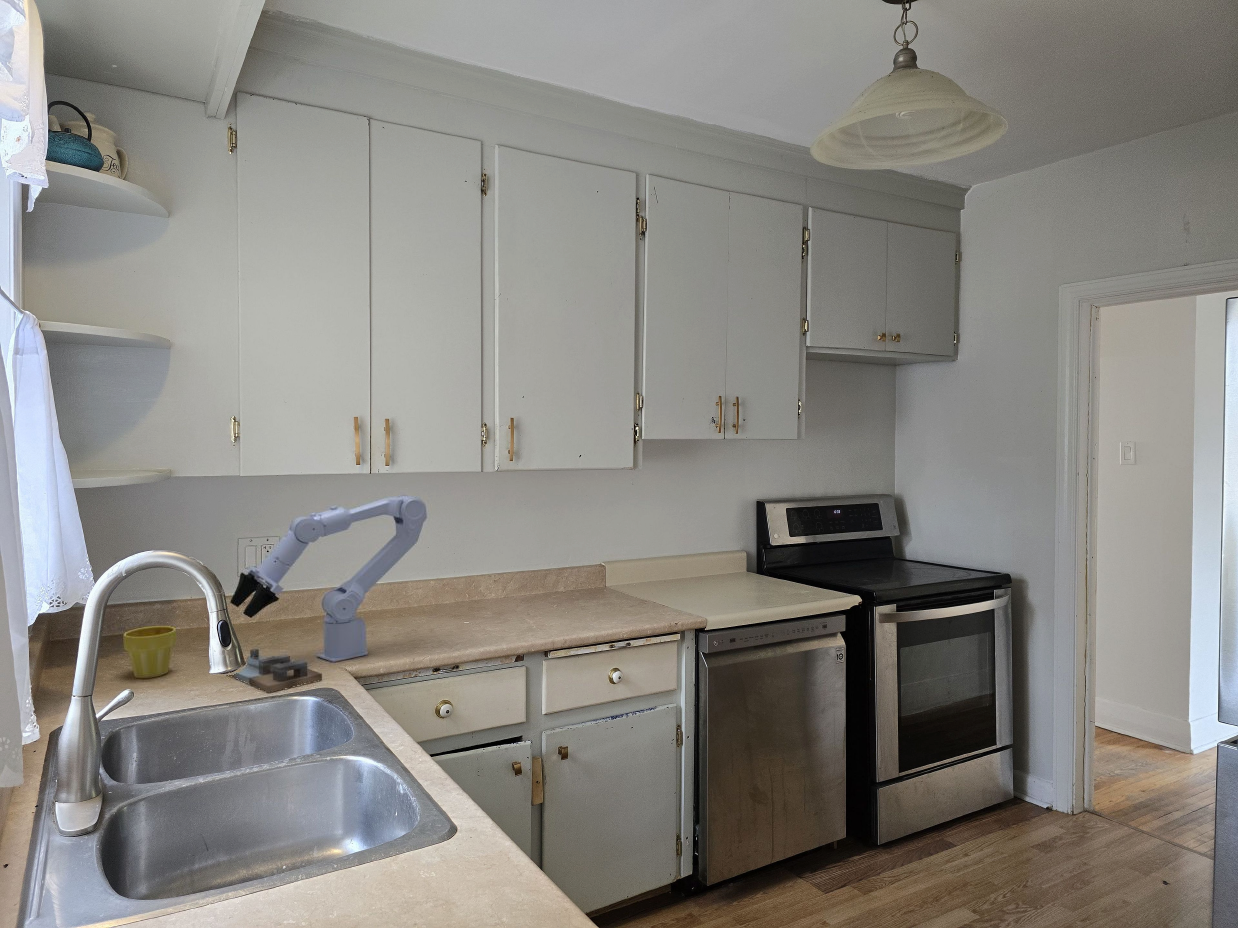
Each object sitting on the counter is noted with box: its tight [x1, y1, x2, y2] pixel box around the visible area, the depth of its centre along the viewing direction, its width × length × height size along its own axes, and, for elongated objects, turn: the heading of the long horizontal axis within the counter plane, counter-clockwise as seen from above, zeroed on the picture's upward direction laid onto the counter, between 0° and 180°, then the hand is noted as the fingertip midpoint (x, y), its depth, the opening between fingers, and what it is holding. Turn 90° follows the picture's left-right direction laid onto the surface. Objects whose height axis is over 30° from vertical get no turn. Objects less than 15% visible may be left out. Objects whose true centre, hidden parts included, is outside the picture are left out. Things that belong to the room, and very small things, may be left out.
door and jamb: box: [229, 654, 323, 694], centre depth 185 cm, size 12×22×4 cm, turn 49°
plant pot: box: [122, 625, 177, 679], centre depth 186 cm, size 10×10×10 cm
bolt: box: [246, 648, 281, 673], centre depth 187 cm, size 2×11×3 cm, turn 49°
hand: (240, 610), depth 189 cm, fingers open, 7 cm apart
